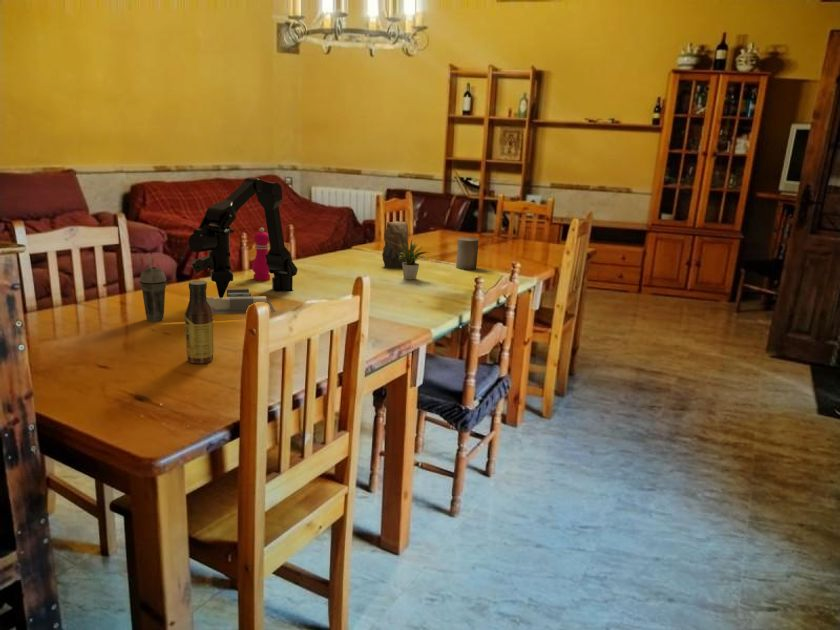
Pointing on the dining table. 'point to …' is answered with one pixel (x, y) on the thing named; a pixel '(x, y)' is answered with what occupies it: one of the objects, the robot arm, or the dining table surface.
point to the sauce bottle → (199, 325)
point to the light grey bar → (225, 301)
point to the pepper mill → (261, 256)
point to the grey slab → (236, 302)
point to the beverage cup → (153, 292)
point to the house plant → (411, 261)
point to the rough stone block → (391, 252)
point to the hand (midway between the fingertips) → (220, 297)
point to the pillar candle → (467, 253)
